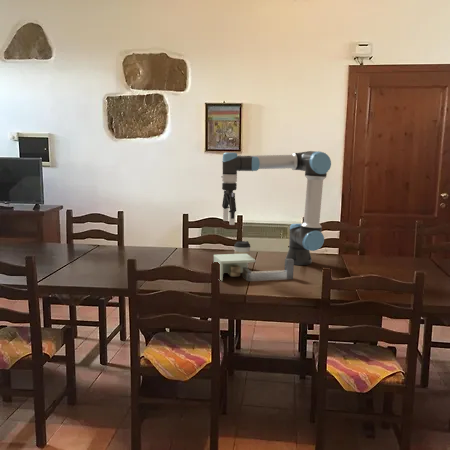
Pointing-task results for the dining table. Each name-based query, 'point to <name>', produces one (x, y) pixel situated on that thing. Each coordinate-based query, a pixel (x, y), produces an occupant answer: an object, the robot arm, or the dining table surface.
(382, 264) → the dining table surface
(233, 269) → the block
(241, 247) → the coffee cup
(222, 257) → the shelf nook
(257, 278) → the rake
